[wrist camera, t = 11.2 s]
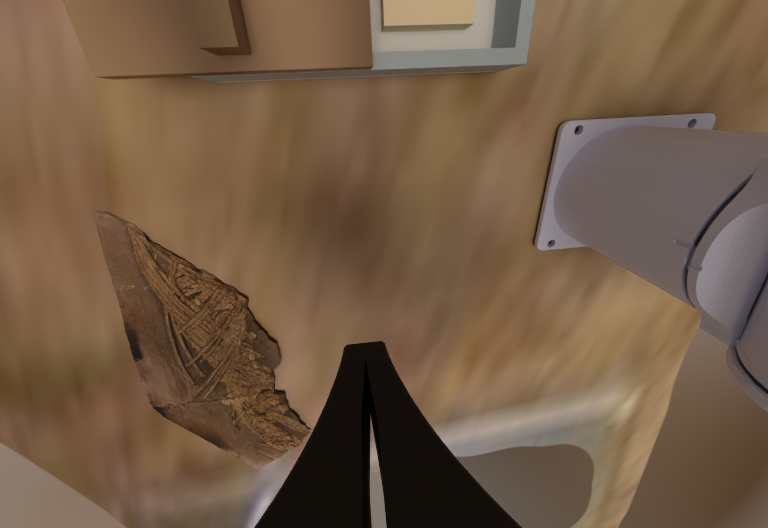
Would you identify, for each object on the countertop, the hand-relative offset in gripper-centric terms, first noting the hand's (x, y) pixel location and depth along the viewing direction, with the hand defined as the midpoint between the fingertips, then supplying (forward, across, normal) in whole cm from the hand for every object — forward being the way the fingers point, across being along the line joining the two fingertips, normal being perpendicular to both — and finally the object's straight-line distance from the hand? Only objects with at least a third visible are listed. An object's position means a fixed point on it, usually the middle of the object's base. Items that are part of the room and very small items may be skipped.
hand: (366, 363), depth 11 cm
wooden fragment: (+10, +12, +9) cm, 18 cm away
